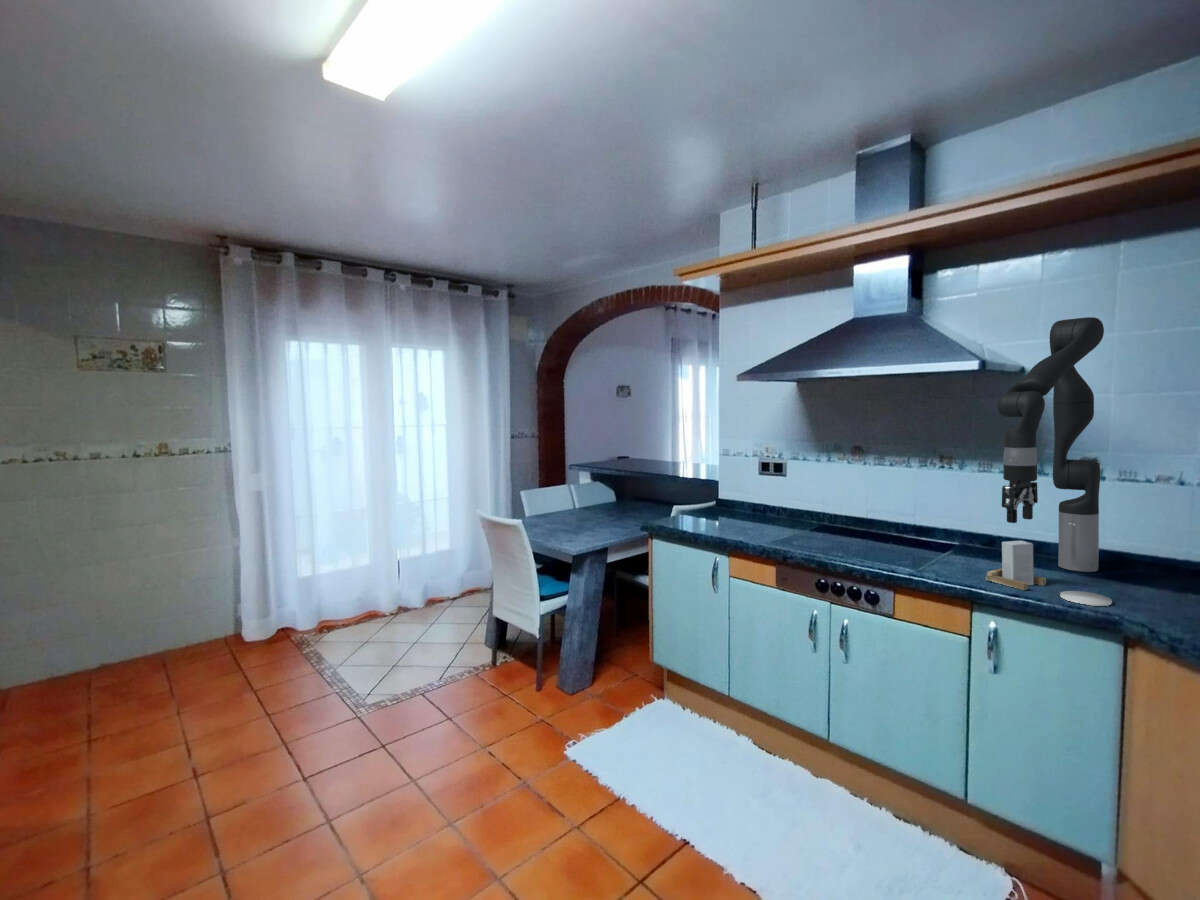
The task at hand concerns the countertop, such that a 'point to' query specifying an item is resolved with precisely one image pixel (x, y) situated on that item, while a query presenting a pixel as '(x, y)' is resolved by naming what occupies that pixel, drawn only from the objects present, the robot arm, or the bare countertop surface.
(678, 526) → the countertop surface
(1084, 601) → the coaster
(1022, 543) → the skincare box
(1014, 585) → the rack
